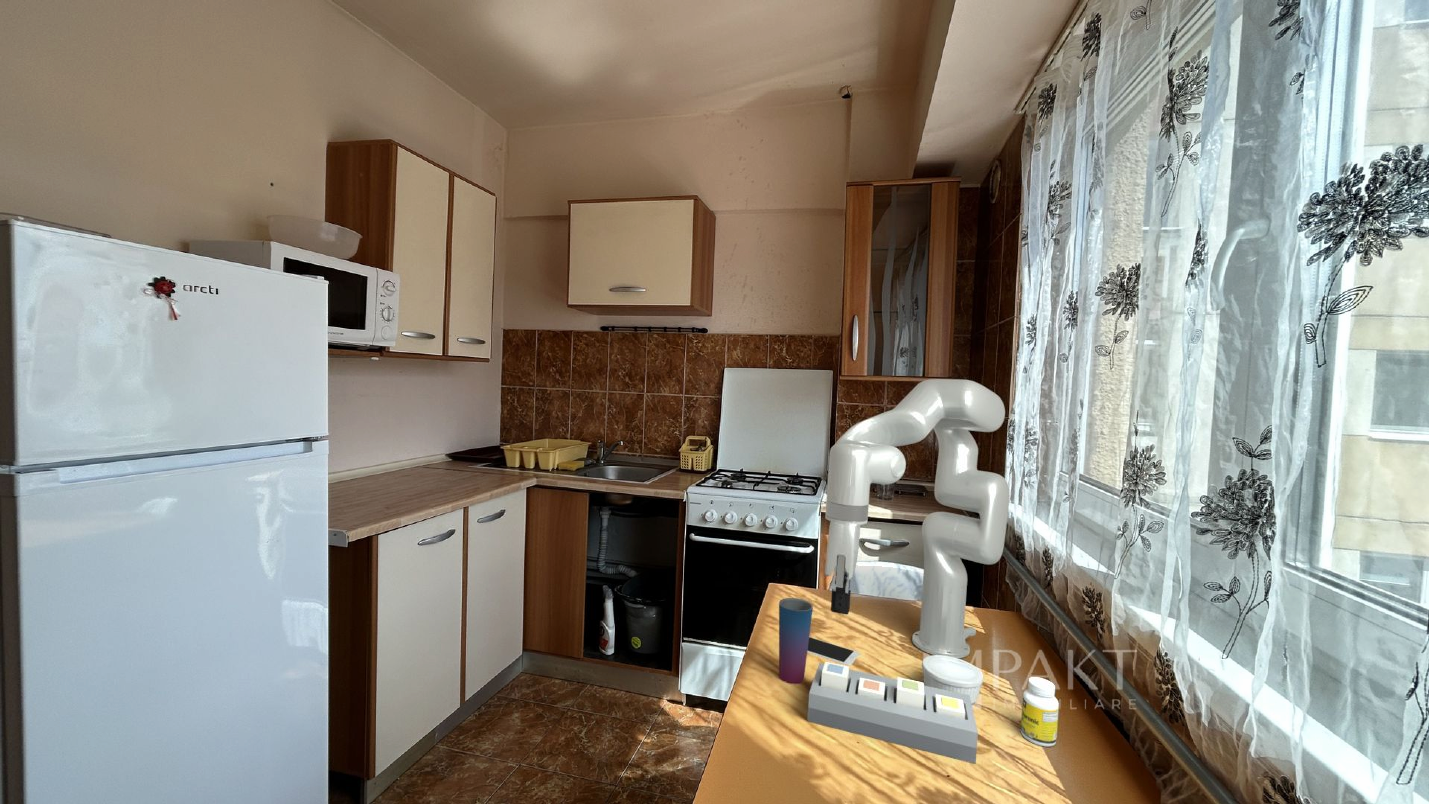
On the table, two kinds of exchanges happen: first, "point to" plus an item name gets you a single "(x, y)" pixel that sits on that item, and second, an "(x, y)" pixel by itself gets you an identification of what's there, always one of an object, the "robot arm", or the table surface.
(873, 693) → the key terracotta
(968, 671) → the ramekin
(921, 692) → the key olive
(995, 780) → the table surface
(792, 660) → the cup
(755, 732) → the table surface
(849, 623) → the table surface
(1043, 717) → the supplement bottle
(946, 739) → the keypad
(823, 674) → the key slate
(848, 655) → the smartphone
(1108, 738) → the table surface
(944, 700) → the key mustard
